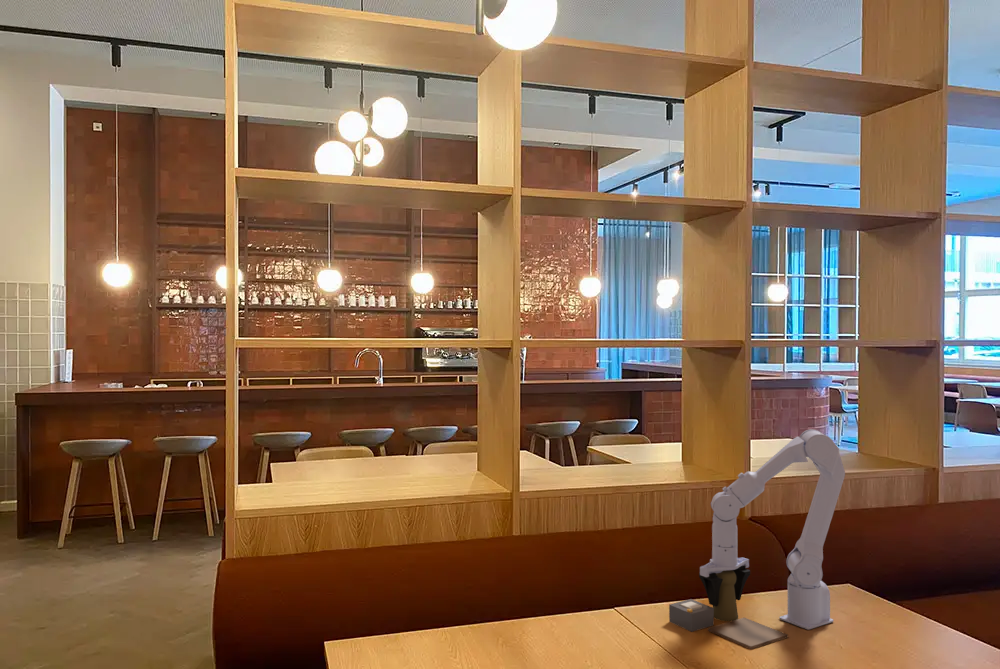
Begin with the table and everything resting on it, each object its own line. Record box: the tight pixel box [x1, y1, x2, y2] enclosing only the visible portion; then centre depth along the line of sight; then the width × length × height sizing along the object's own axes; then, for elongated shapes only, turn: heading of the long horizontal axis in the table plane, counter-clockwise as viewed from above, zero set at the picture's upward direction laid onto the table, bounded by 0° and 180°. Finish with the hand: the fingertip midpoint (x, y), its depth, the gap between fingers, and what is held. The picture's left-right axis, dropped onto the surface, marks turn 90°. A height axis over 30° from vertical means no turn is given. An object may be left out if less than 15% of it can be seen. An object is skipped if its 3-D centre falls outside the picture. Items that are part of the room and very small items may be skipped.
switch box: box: [668, 598, 715, 632], centre depth 177 cm, size 7×7×4 cm
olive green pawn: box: [712, 570, 739, 622], centre depth 181 cm, size 6×6×11 cm
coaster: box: [707, 617, 789, 650], centre depth 171 cm, size 12×12×1 cm
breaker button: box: [681, 602, 702, 610], centre depth 177 cm, size 3×3×3 cm
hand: (724, 601), depth 181 cm, fingers open, 7 cm apart
